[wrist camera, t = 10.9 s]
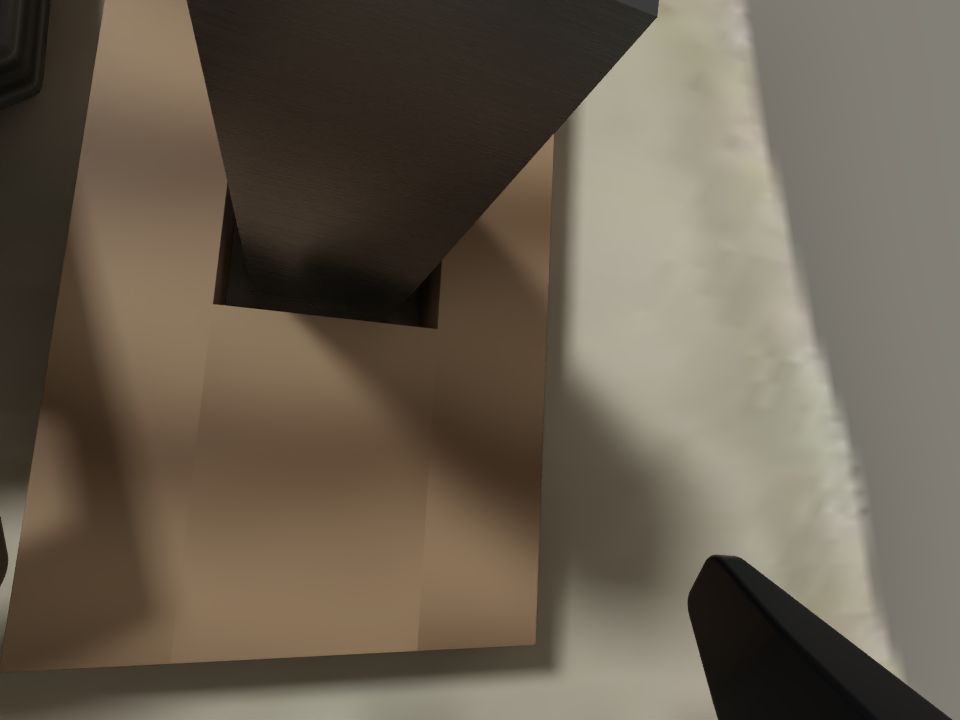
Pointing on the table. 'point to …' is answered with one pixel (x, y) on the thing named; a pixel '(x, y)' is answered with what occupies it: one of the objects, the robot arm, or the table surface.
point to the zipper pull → (22, 48)
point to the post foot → (268, 417)
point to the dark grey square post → (387, 125)
